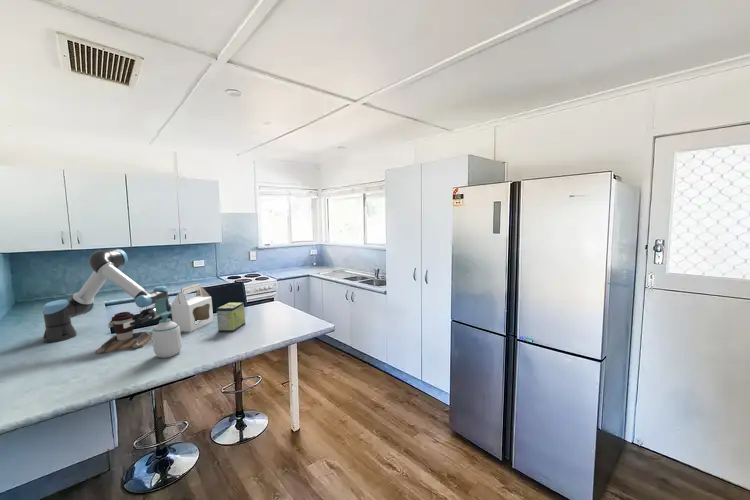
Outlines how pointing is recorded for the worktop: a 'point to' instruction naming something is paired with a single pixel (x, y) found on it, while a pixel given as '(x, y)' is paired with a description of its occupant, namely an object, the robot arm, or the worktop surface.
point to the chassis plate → (125, 343)
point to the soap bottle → (165, 332)
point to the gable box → (192, 308)
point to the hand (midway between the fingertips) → (116, 325)
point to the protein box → (230, 317)
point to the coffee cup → (118, 325)
